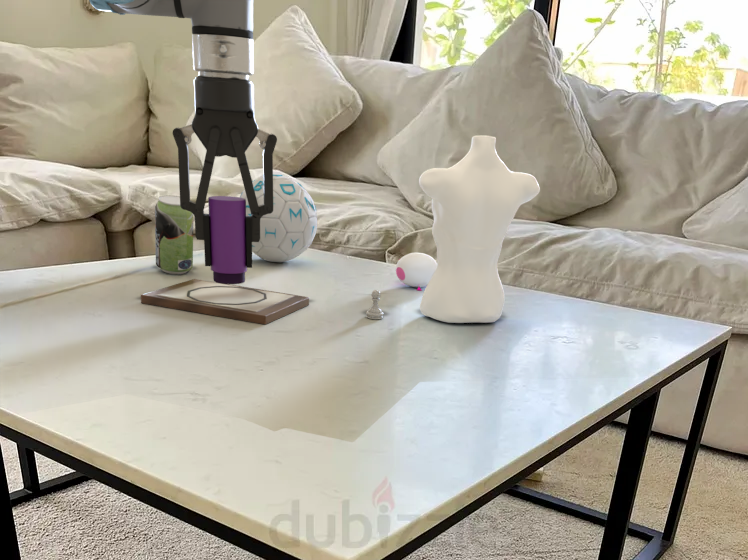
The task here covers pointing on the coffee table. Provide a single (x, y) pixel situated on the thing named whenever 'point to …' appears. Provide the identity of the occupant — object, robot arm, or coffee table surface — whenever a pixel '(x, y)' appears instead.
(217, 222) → the dot marker
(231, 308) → the drawing board
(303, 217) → the puzzle ball
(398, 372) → the coffee table surface
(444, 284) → the torso sculpture
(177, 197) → the beverage can
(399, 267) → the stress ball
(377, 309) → the pawn
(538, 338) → the coffee table surface
